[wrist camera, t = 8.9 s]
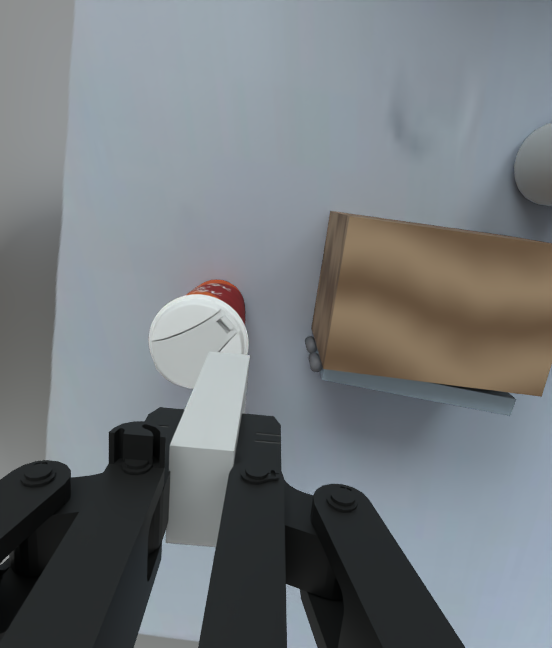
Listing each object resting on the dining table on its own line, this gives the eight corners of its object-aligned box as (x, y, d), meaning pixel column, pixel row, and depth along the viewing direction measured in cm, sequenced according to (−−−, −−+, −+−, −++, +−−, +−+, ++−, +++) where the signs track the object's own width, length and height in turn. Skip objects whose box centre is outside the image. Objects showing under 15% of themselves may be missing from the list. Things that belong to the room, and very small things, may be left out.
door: (306, 330, 48) (313, 360, 39) (473, 363, 49) (516, 399, 40) (300, 353, 49) (306, 388, 40) (465, 385, 50) (506, 426, 41)
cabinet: (330, 211, 46) (349, 216, 34) (509, 235, 47) (586, 249, 35) (311, 328, 49) (323, 369, 37) (479, 349, 50) (541, 396, 38)
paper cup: (221, 253, 47) (199, 276, 33) (270, 310, 48) (268, 355, 35) (164, 301, 48) (121, 343, 35) (213, 356, 50) (191, 416, 36)
